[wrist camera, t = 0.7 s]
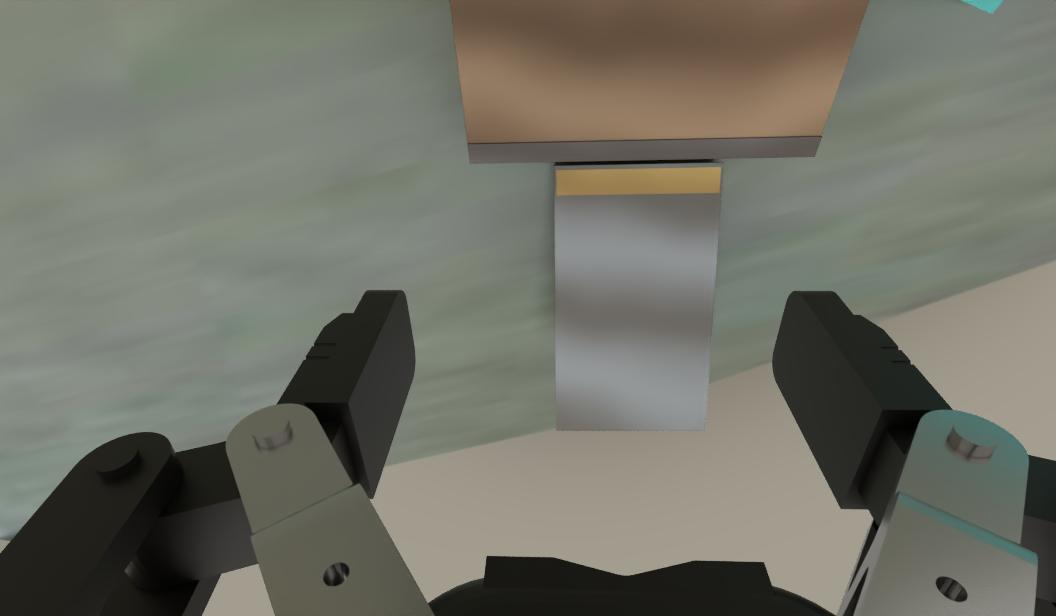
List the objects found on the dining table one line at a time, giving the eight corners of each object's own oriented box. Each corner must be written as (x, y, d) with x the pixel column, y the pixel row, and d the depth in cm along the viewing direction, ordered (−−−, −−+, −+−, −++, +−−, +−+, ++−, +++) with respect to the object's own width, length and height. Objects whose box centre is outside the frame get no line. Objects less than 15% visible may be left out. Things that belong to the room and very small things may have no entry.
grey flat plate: (554, 165, 29) (554, 166, 27) (714, 162, 28) (723, 162, 27) (556, 417, 32) (556, 430, 31) (697, 417, 32) (705, 431, 30)
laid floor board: (436, -171, 20) (428, -165, 18) (911, -195, 19) (938, -190, 17) (474, 143, 28) (470, 163, 27) (801, 136, 27) (814, 156, 26)
